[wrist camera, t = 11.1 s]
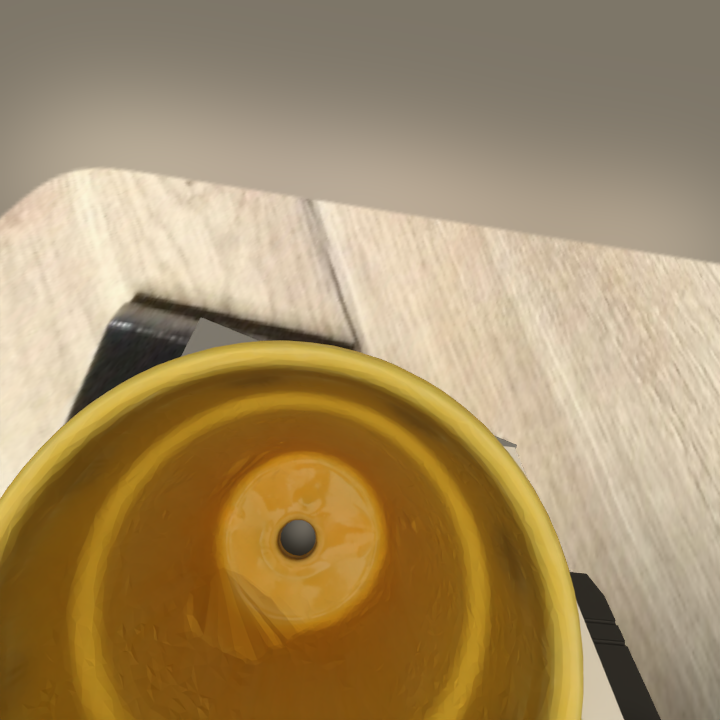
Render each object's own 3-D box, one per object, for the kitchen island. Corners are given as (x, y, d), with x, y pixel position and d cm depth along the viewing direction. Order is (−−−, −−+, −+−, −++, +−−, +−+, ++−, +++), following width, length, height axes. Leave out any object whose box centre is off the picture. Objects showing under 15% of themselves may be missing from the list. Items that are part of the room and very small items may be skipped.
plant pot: (190, 736, 15) (-51, 1264, 5) (135, 437, 17) (-119, 419, 7) (472, 633, 16) (692, 897, 7) (393, 369, 18) (477, 277, 8)
